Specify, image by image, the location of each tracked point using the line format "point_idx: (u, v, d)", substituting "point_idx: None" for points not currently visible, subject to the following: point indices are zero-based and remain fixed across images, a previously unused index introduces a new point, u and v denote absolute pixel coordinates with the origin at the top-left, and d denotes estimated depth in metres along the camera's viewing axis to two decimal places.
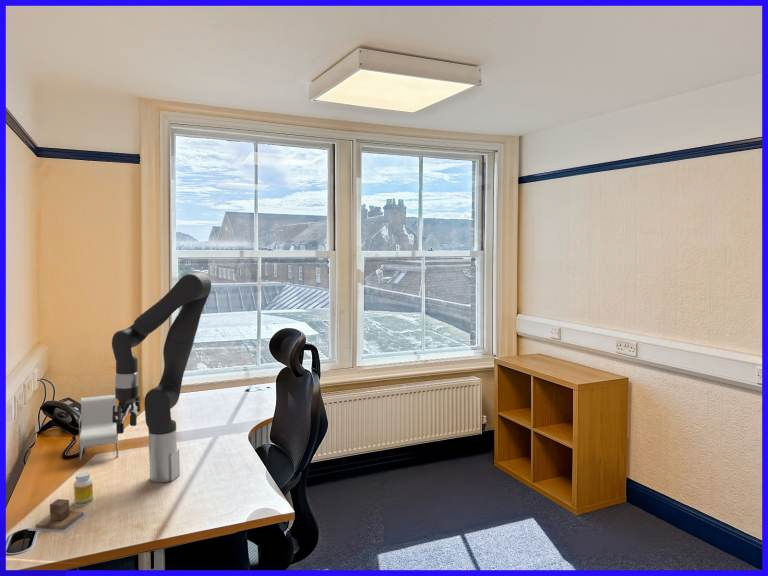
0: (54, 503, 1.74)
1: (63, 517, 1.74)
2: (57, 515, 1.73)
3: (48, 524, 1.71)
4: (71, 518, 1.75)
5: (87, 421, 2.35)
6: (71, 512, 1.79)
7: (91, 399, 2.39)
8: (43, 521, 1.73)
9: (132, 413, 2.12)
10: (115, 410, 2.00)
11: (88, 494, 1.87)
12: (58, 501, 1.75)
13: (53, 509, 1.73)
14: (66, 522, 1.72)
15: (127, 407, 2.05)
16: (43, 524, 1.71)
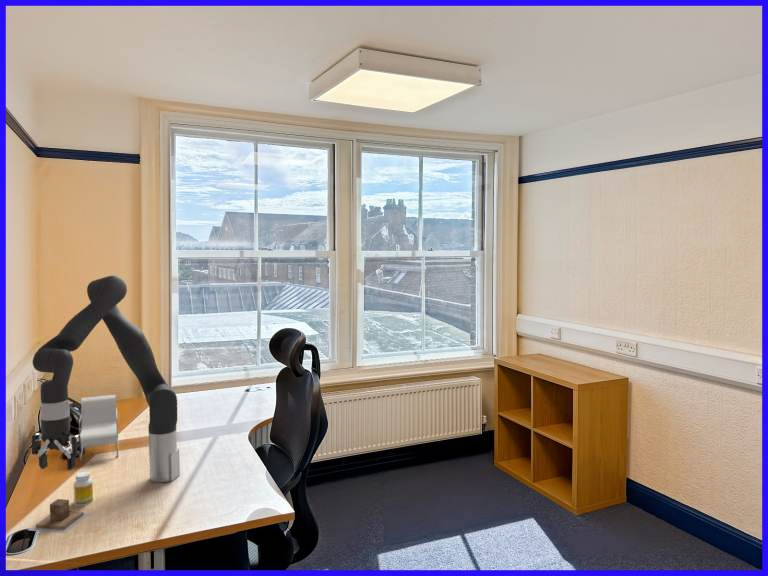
0: (54, 503, 1.74)
1: (63, 517, 1.74)
2: (57, 515, 1.73)
3: (48, 524, 1.71)
4: (71, 518, 1.75)
5: (87, 421, 2.35)
6: (71, 512, 1.79)
7: (91, 399, 2.39)
8: (43, 521, 1.73)
9: (43, 453, 1.74)
10: (77, 440, 1.72)
11: (88, 494, 1.87)
12: (58, 501, 1.75)
13: (53, 509, 1.73)
14: (66, 522, 1.72)
15: None
16: (43, 524, 1.71)
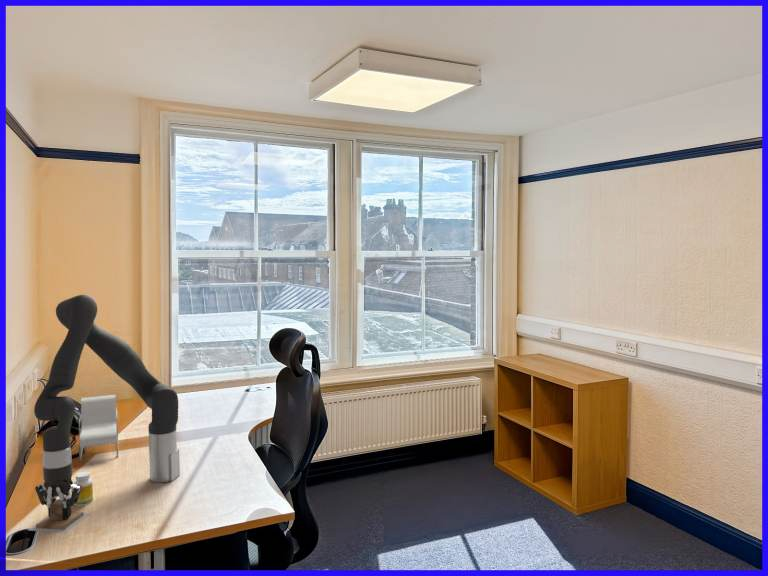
0: (54, 503, 1.74)
1: None
2: (57, 515, 1.73)
3: (48, 524, 1.71)
4: (71, 518, 1.75)
5: (87, 421, 2.35)
6: (71, 512, 1.79)
7: (91, 399, 2.39)
8: (43, 521, 1.73)
9: None
10: (78, 492, 1.74)
11: (88, 494, 1.87)
12: (58, 501, 1.75)
13: (53, 509, 1.73)
14: (66, 522, 1.72)
15: None
16: (43, 524, 1.71)
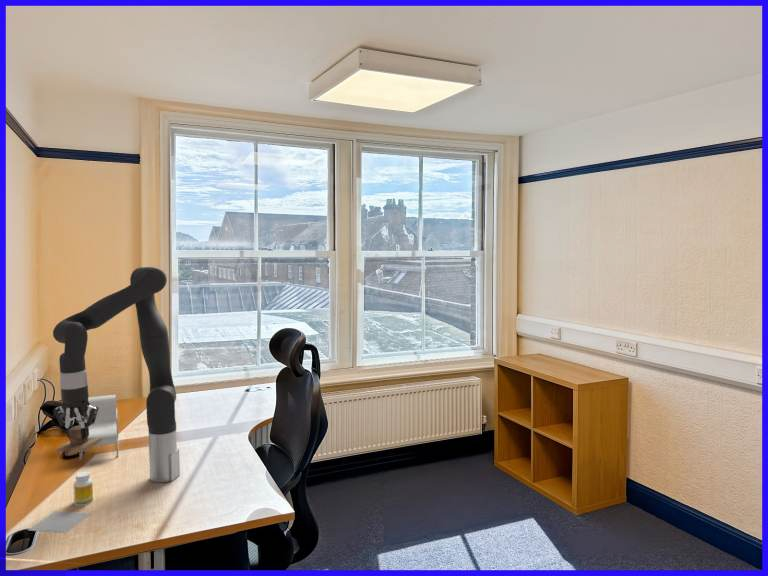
0: (73, 428, 1.82)
1: (82, 441, 1.82)
2: (76, 440, 1.82)
3: (68, 447, 1.80)
4: (89, 442, 1.84)
5: None
6: (89, 439, 1.87)
7: (91, 399, 2.39)
8: (63, 445, 1.81)
9: (70, 424, 1.83)
10: (95, 412, 1.82)
11: (88, 494, 1.87)
12: (77, 427, 1.83)
13: (72, 434, 1.81)
14: (86, 446, 1.81)
15: None
16: (64, 448, 1.80)
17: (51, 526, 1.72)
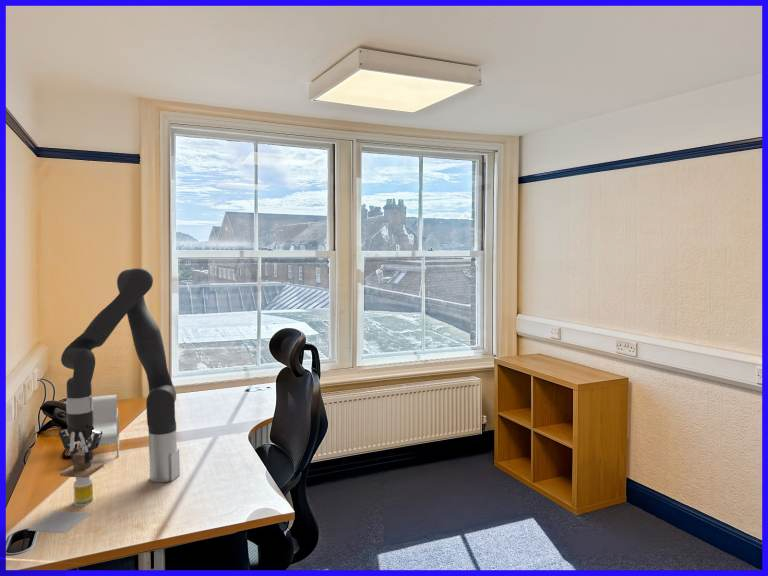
0: (77, 454, 1.86)
1: (85, 467, 1.86)
2: (79, 465, 1.85)
3: (71, 473, 1.84)
4: (92, 468, 1.87)
5: None
6: (92, 464, 1.91)
7: None
8: (67, 470, 1.85)
9: (74, 447, 1.87)
10: (98, 437, 1.86)
11: (88, 494, 1.87)
12: (81, 452, 1.87)
13: (76, 459, 1.85)
14: (88, 472, 1.84)
15: None
16: (67, 473, 1.84)
17: (51, 526, 1.72)
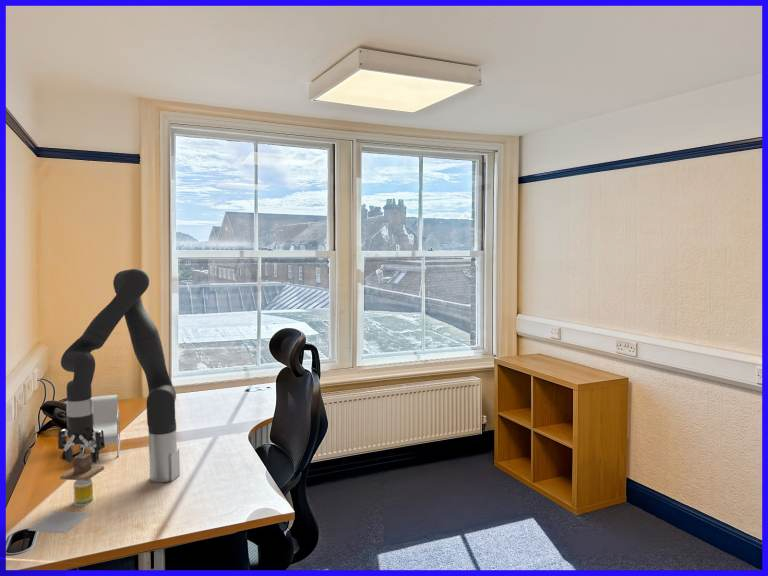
0: (77, 457, 1.86)
1: (85, 470, 1.86)
2: (80, 468, 1.85)
3: (72, 476, 1.84)
4: (92, 471, 1.87)
5: None
6: (92, 466, 1.91)
7: (93, 399, 2.40)
8: (67, 473, 1.85)
9: (68, 448, 1.87)
10: (100, 435, 1.85)
11: (88, 494, 1.87)
12: (81, 455, 1.87)
13: (76, 462, 1.85)
14: (88, 474, 1.85)
15: None
16: (67, 476, 1.84)
17: (51, 526, 1.72)
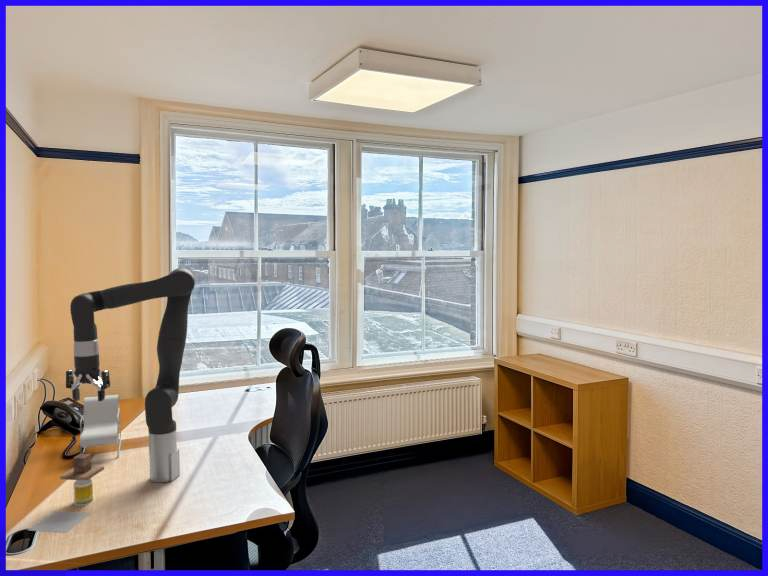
0: (77, 457, 1.86)
1: (85, 470, 1.86)
2: (80, 468, 1.85)
3: (72, 476, 1.84)
4: (92, 471, 1.87)
5: (89, 421, 2.36)
6: (92, 466, 1.91)
7: (94, 399, 2.40)
8: (67, 473, 1.85)
9: (76, 387, 1.97)
10: (106, 375, 1.95)
11: (88, 494, 1.87)
12: (81, 455, 1.87)
13: (76, 462, 1.85)
14: (88, 474, 1.85)
15: None
16: (67, 476, 1.84)
17: (51, 526, 1.72)
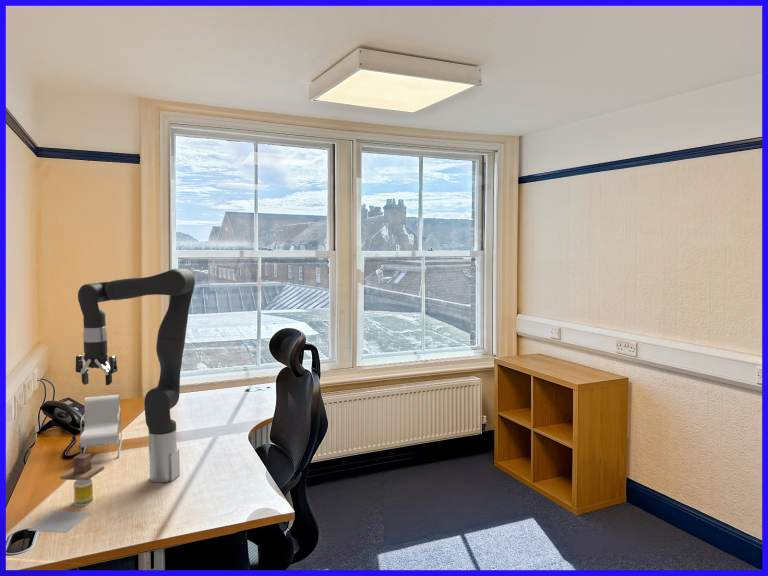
0: (77, 457, 1.86)
1: (85, 470, 1.86)
2: (80, 468, 1.85)
3: (72, 476, 1.84)
4: (92, 471, 1.87)
5: (90, 421, 2.36)
6: (92, 466, 1.91)
7: (95, 399, 2.40)
8: (67, 473, 1.85)
9: (85, 371, 2.08)
10: (114, 360, 2.06)
11: (88, 494, 1.87)
12: (81, 455, 1.87)
13: (76, 462, 1.85)
14: (88, 474, 1.85)
15: None
16: (67, 476, 1.84)
17: (51, 526, 1.72)
